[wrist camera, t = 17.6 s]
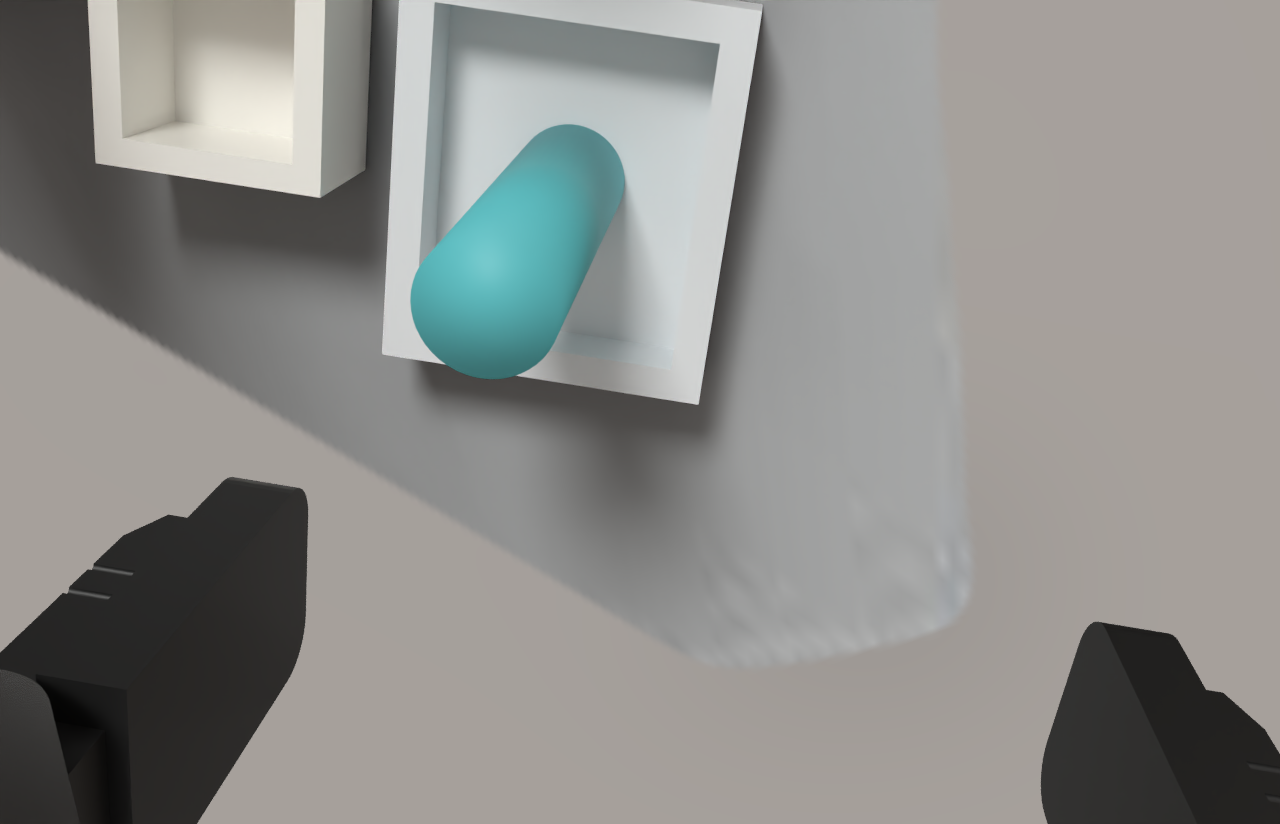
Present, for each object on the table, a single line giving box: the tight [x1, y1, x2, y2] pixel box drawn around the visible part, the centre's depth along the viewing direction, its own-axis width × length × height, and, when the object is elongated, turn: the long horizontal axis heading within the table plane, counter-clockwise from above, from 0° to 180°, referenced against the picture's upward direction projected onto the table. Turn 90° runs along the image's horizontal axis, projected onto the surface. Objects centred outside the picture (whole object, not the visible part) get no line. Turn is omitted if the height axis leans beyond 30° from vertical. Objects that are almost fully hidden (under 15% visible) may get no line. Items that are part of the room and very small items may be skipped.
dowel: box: [410, 124, 625, 379], centre depth 37 cm, size 4×4×14 cm
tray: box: [382, 0, 763, 405], centre depth 43 cm, size 12×14×4 cm
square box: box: [88, 0, 372, 198], centre depth 42 cm, size 8×8×5 cm
